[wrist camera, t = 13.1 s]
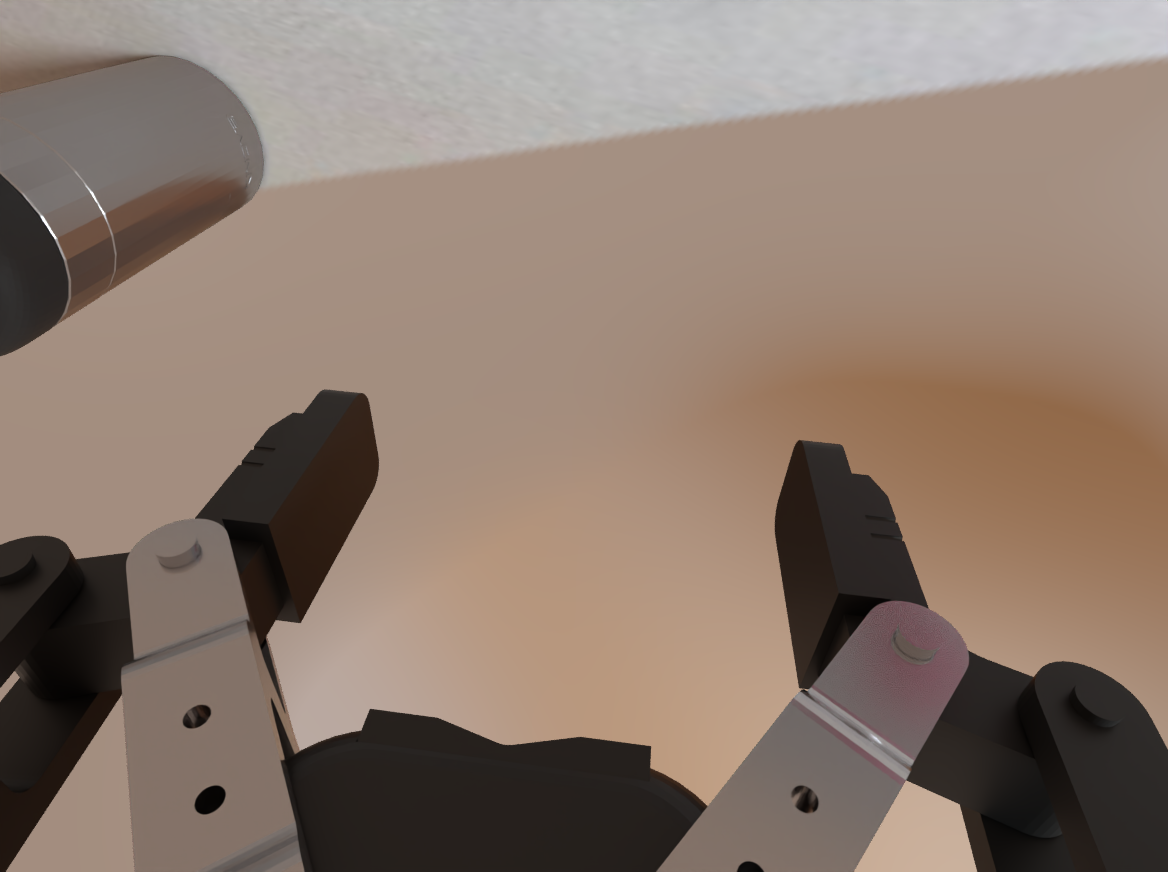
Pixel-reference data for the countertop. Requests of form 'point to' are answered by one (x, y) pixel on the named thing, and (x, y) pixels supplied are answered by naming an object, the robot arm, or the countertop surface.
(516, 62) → the countertop surface
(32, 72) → the countertop surface
